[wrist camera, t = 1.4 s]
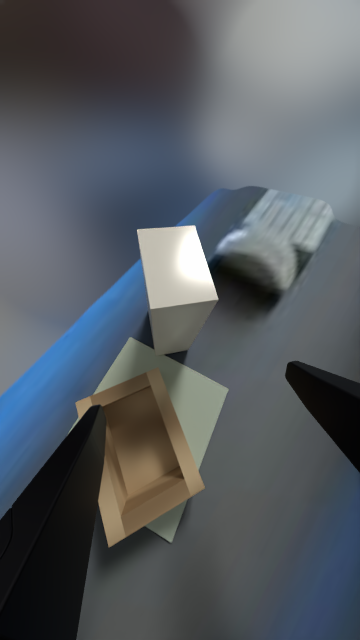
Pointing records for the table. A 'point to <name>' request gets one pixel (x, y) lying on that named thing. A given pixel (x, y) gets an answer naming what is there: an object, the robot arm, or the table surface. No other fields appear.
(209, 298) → the off-white rectangular block
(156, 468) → the tray
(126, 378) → the mat
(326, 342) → the table surface
